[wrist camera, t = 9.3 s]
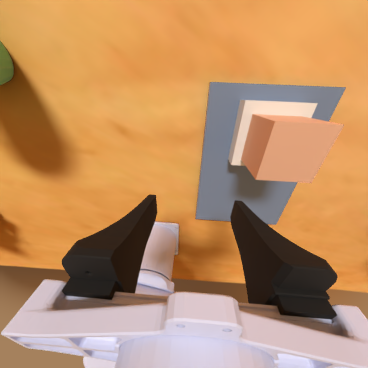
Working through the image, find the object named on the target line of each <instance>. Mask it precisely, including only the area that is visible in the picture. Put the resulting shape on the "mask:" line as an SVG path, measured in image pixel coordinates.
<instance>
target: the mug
mask: <svg viewBox="0 0 368 368" xmlns="http://www.w3.org/2000/svg"><path fill="white" fill-rule="evenodd" d="M13 75H14V66H13V62H12V59H11V57H10V55H9V53H8V51H7V49H6V48H5V47H4V45H3V44H2V42H1V41H0V85H2V84H4V83H6V82H8V81H10V80H11V79H12V77H13Z"/></svg>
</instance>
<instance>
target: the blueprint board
mask: <svg viewBox="0 0 368 368" xmlns="http://www.w3.org/2000/svg"><path fill="white" fill-rule="evenodd" d="M345 88H346V87H320V86H295V85H270V84H244V83H219V82H210V85H209V94H208V104H207V113H206V123H205V132H204V142H203V151H202V161H201V170H200V180H199V189H198V199H197V208H196V219H204V220H218V221H231V219H230V216H231V212H232V209H233V205H234V201H235V200H238V201H242V202H244V203H245V204H246V205H247V206H248V207H249V208H250V209H251V210H252V211H253V212H254V213H255V214H256V215H257V216H258V217H259V218H260V219H261V220H262V221H263V222H265V223H266V224H275V225H276V224H277V222H278V220H279V218H280V216H281V214H282V212H283V210H284V208H285V206H286V204H287V202H288V200H289V198H290V196H291V194H292V192H293V190H294V188H295V186H296V184H297V182H285V181H269V180H256V179H255V178H254V177H253V175H252V174H251V173H250V171H249V170H248V168H247V167H246V166H245V164H244V163H243V162H242V160H241V157H242V153H243V149H244V145H245V141H246V138H247V134H248V130H249V126H250V122H251V118H252V114H263V115H284V116H303V117H308V118H313V119H318V120H323V121H328V122H329V120H330V118H331V116H332V114H333V112H334V110H335V108H336V106H337V104H338V102H339V100H340V98H341V96H342V94H343V92H344V90H345Z"/></svg>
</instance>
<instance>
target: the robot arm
mask: <svg viewBox="0 0 368 368" xmlns="http://www.w3.org/2000/svg"><path fill="white" fill-rule="evenodd" d="M156 215H157V204H156V195H148V196H147V197H146V198H145V199H144V200H143V201H142V202H141V203H140V204H139V205H138V206H137V207H136V208H134V209H133V210H132V211H131V212H130V213H128V214H127V215H126V216H125V217H123V218H122V219H120V220H119V221H117V222H116V223H114V224H112V225H110V226H109V227H107V228H105V229H103V230H101V231H99V232H97V233H95V234H93V235H91V236H88V237H86V238H83V239H81V240H78V241H77V242H76V243H75V244H74V245H73V246H72V248H71V249H70V250H69V251H68V253H67V254H66V255H65V256H64V258H63V259H62V265H63V267H64V269H65V270H66V272H67V273H68V274H69V276H70V277H71V278H70V279H69V281H68V282H67V283H66V282H64V281H60V280H49V279H46V280H44V281H43V282H42V283H41V284H40V286H39V287H38V288H37V289H36V291H35V292H34V293H33V294H32V295H31V297H30V298H29V299H28V301H27V302H26V303H25V304H24V305H23V306H22V308H21V309H20V310H19V312H18V313H17V314H16V315H15V316H14V318H13V319H12V320H11V321H10V322H9V324H8V325H7V326H6V327H5V329H4V330H3V331H2V332H1V334H2V335H3V336H5V337H7V338H9V339H11V340H13V341H15V342H16V343H18V344H20V345H22V346H24V347H26V348H30V349H39V350H47V351H54V352H61V353H68V354H73V355H79V356H84V359H83V362H84V366H85V368H368V320H367V318H366V317H365V316H364V315H363V313H362V312H361V311H360V309H359V308H358V307H356V306H349V305H332V306H331V305H330V303H329V302H328V299H329V296H328V294H327V293H326V290H328V289H329V288H330V287H331V286H332V285H333V284H334V283H335V282H336V280H337V274H336V273H335V271H334V270H333V269H332V268H331V266H330V265H329V264H328V263H327V261H326V260H324V259H322V258H320V257H318V256H316V255H314V254H312V253H310V252H308V251H306V250H305V249H303V248H301V247H299V246H297V245H296V244H294V243H292V242H291V241H289V240H288V239H286V238H285V237H283V236H282V235H280V234H279V233H277V232H276V231H275V230H273V229H272V228H271V227H269V226H268V225H267V224H266V223H265V222H263V221H262V220H261V219H260V218H259V217H258V216H257V215H256V214H255V213H254V212H253V211H252V210H251V209H250V208H249V207H248V206H247V205H246V204H245V203H244V202H242V201H238V200H235V201H234V205H233V209H232V212H231V216H230V219H231V225H232V229H233V232H234V235H235V239H236V242H237V245H238V248H239V251H240V255H241V260H242V265H243V270H244V276H245V281H246V288H247V294H248V302H249V303H238V302H237V301H236V300H235V299H234V298H232V297H231V296H226V295H220V294H208V293H197V292H185V291H184V292H176V291H174V283H173V282H171V278H172V270H173V262H174V255H178V242H179V224H177V223H166V222H155V219H156ZM176 227H177V228H176Z"/></svg>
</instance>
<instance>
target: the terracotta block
mask: <svg viewBox="0 0 368 368" xmlns="http://www.w3.org/2000/svg"><path fill="white" fill-rule="evenodd" d="M343 126H344V124H339V123H333V122H328V121H323V120H318V119H313V118H308V117H303V116H284V115H263V114H252V118H251V122H250V126H249V130H248V134H247V138H246V141H245V145H244V149H243V153H242V157H241V160H242V162H243V163H244V164H245V166H246V167H247V168H248V170H249V171H250V173H251V174H252V175H253V177H254V178H255V179H256V180H269V181H285V182H302V183H312V181H313V179H314V177H315V176H316V174H317V172H318V170H319V169H320V167H321V165H322V163H323V162H324V160H325V158H326V156H327V155H328V153H329V151H330V149H331V148H332V146H333V144H334V142H335V141H336V139H337V137H338V135H339V134H340V132H341V130H342V128H343Z"/></svg>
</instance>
